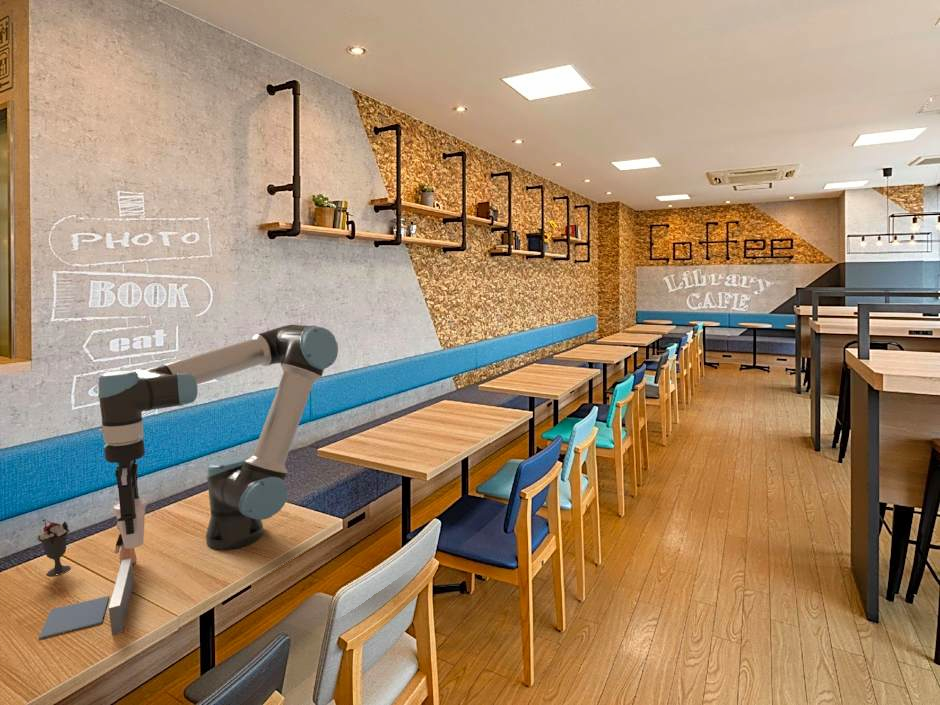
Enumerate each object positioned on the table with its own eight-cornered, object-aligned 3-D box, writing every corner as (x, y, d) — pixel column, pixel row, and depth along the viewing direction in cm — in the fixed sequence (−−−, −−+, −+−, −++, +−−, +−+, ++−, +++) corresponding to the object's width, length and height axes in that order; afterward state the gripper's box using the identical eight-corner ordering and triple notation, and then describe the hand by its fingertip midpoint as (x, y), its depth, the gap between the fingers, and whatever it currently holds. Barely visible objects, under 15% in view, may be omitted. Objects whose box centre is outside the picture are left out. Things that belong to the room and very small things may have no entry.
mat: (109, 597, 128) (108, 595, 128) (101, 623, 118) (101, 621, 118) (51, 610, 123) (51, 609, 123) (38, 639, 114) (38, 637, 114)
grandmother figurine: (131, 571, 140) (125, 524, 138) (114, 573, 139) (108, 526, 137) (142, 556, 147) (137, 511, 145) (126, 558, 146) (121, 513, 145)
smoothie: (135, 552, 120) (129, 491, 119) (110, 550, 122) (104, 489, 120) (156, 539, 127) (151, 481, 125) (132, 537, 128) (127, 479, 126)
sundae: (38, 580, 136) (30, 523, 134) (46, 567, 142) (39, 513, 140) (70, 574, 139) (63, 518, 137) (77, 562, 145) (70, 508, 143)
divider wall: (133, 581, 135) (131, 558, 134) (123, 631, 116) (119, 605, 115) (124, 583, 134) (121, 560, 133) (111, 634, 115) (108, 608, 114)
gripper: (109, 433, 128) (118, 527, 131) (97, 455, 111) (108, 562, 114) (146, 429, 131) (154, 520, 134) (140, 449, 114) (149, 554, 117)
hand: (133, 539), depth 124 cm, fingers closed on smoothie, 6 cm apart
